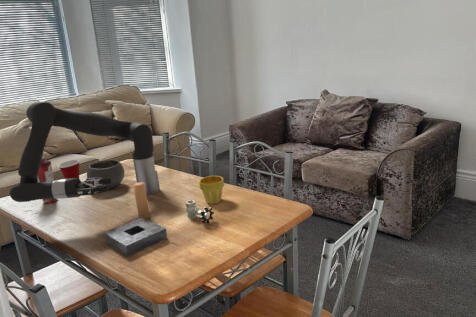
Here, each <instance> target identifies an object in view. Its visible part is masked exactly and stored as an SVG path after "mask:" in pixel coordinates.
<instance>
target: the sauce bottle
mask: <svg viewBox="0 0 476 317" xmlns="http://www.w3.org/2000/svg"><path fill="white" fill-rule="evenodd" d="M46 181H55V179H54V173H53V167H52V161H51V160H48V159H45V155H44V154H43V155H42V159H41V163H40V168H39V172H38V183H40V182H46ZM57 200H58V199H47V200H42V202H44V203H46V204H51V203H54V202H56V201H57Z"/></svg>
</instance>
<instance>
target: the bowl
mask: <svg viewBox="0 0 476 317" xmlns="http://www.w3.org/2000/svg"><path fill="white" fill-rule="evenodd" d="M124 168H125V167H124V166H123V164H122V162H120V161H119V160H118V159H103V160H100V161H99V160H98V161H96V162H93V163H91V164H89V165H88V167H87V169H86V170H87V171H86V179H87V178H95V177H101V178H102V179H105V178H111V179H112V183H111V184H103V185H107V189H108V190H111V189H113V188H116V187H117V186H119V185H120V184H121V183H122V181H123V180H124V178H125V169H124ZM97 182H99V181H97ZM99 186H101V185H99Z"/></svg>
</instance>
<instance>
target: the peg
mask: <svg viewBox="0 0 476 317" xmlns="http://www.w3.org/2000/svg"><path fill="white" fill-rule="evenodd" d="M132 186H133V192H134V198H135V203H136V209H137V215H138V219H139V218H141V217H143V218H145V219H147V220H149V221H150V220H151V215H150V209H149V208H150V207H149V202H148V195H146V188H145V183H144V182H139V183H137V182H136V183H133V185H132Z"/></svg>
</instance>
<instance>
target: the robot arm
mask: <svg viewBox="0 0 476 317" xmlns="http://www.w3.org/2000/svg"><path fill="white" fill-rule="evenodd" d="M26 117H27V119H28V120H29V121H30V122H31V130H30V134H29V136H28V140H27V143H26V144H25V147H24V149H23V151H22V154H21V158H20V162H19V165H18V172H17V173H18V176H20V180H19V183H17V184H15V185H12V187H11V188H10V190H9V196H10V199H12V201H14V202H17V203H26V202H30V201H36V200H38V201H39V200H42V201H43V200H47V199H57V200H59V199H60V200H61V199H63V200H64V199H72V198H80V197H83V196H93V195H95V194H97V193H101V192H107V191H108V190H109V189H107V185H103V184H111V183H112V179H111V178H105V179H102V178H101V177H95V178H87V177H86V178H85V180H84V181H81V179H80V177H79V178H69V179H65V178H60V179H54V181H46V182H40V183H39V182H38V172H39V168H40V163H41V159H42V155H44V150H45V147H46V143H47V139H48V136H49V134H50V131H51V130H52V127H59V128H64V129H68V130H70V131H73V132H74V131H75V132H79V133H83V134H87V135H93V136H98V137H118V138H121V139H125V140H127V141H131V142H133V148H134V151H132V152H131V153H132V162H133V168H134V173H135V178H136V183H139V182H144V183H145V188H146V195H147V196H150V195H154V194H156V193H157V192H159V191H160V190H161V188H160V181H159V175H158V171H157V170H156V166H155V159H154V139H153V132H152V130H151V127H150V126H149V125H148V124H146V123H141V122H134V121H124V120H118V119H116V118H112V117H110V116H107V115H104V114H100V113H95V112H91V111H90V112H89V111H84V110H83V111H82V110H70V109H69V110H67V109H62V108H59V107H55V106H54V104H52V103H50V102H48V101H37V102H33V103H32V104H31V105H29V106H28V107H27V109H26ZM97 181H99V182H97ZM99 185H101V186H99Z"/></svg>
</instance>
